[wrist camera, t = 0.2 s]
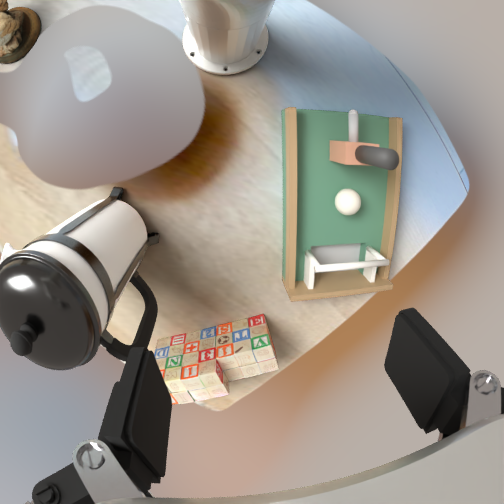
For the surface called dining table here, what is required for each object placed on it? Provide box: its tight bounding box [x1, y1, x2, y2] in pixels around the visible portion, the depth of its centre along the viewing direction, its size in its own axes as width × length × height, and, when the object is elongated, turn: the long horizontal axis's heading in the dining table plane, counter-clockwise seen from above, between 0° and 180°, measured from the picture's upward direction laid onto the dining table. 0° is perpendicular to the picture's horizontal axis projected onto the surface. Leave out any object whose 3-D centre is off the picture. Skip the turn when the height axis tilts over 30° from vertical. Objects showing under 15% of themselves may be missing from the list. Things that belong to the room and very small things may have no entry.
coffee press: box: [0, 187, 159, 370], centre depth 31 cm, size 17×16×30 cm
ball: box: [335, 189, 361, 215], centre depth 41 cm, size 4×4×4 cm
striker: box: [330, 109, 399, 170], centre depth 33 cm, size 8×5×13 cm, turn 2°
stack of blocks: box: [154, 314, 279, 404], centre depth 48 cm, size 21×6×12 cm, turn 105°
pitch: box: [282, 107, 402, 302], centre depth 41 cm, size 28×18×9 cm, turn 2°
